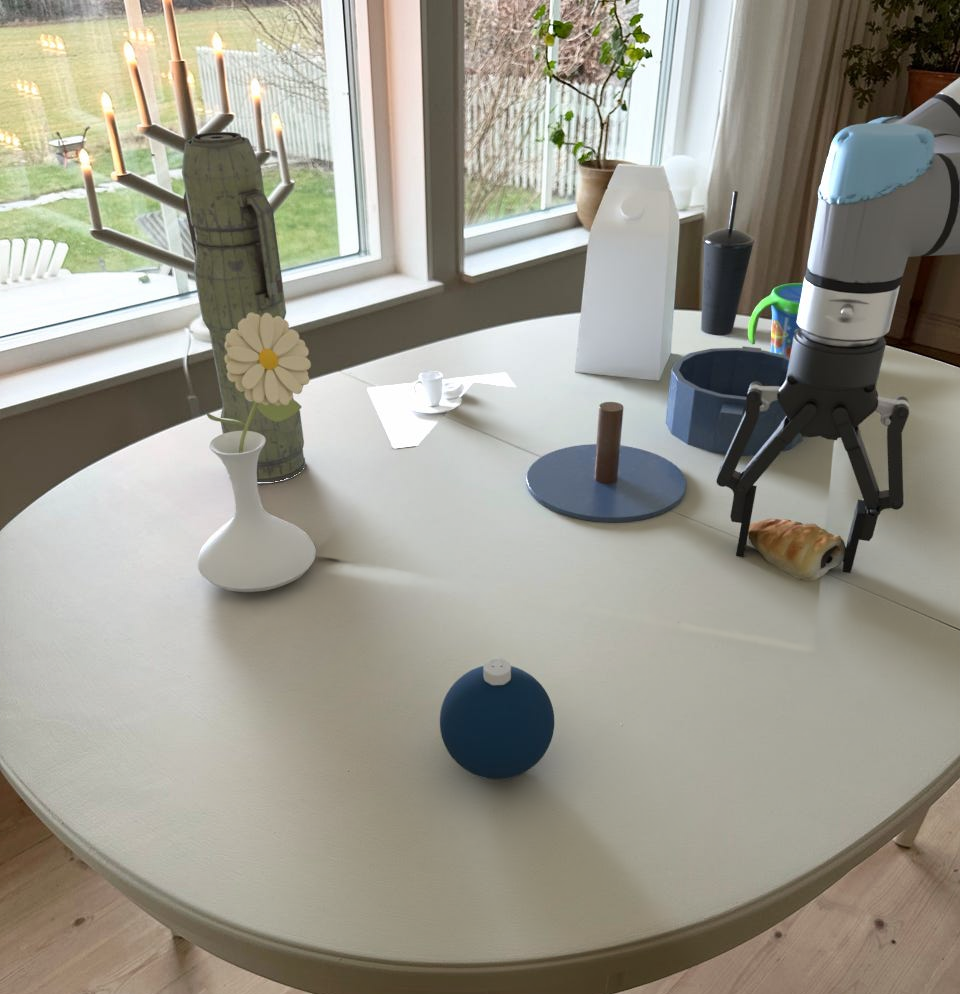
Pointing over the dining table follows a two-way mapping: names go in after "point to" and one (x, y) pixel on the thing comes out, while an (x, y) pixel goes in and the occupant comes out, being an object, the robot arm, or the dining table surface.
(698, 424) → the pot
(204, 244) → the thermos
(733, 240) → the drinking cup
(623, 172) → the milk
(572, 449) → the lid
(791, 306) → the snack cup
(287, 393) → the flower in vase
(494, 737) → the christmas ornament
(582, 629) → the dining table surface
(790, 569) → the pastry
